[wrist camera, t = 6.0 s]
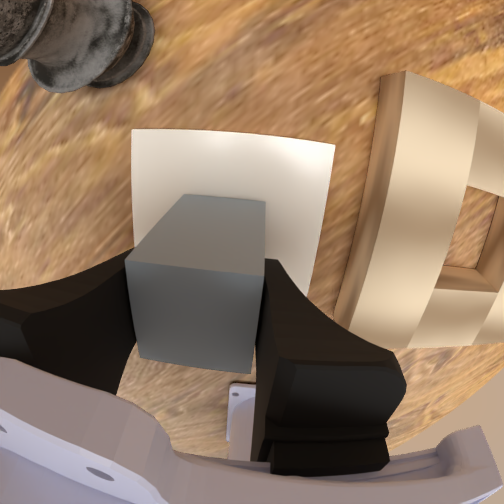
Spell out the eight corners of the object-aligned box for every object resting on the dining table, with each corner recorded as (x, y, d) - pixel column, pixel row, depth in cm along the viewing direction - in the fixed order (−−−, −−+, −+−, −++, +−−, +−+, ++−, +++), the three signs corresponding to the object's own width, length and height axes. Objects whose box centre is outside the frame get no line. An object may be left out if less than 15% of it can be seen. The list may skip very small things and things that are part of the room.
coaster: (301, 312, 18) (302, 316, 18) (142, 294, 18) (139, 297, 18) (333, 144, 14) (335, 145, 13) (134, 128, 14) (131, 129, 13)
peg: (257, 274, 16) (250, 374, 10) (183, 265, 16) (140, 357, 10) (265, 201, 14) (264, 276, 8) (184, 194, 14) (124, 259, 8)
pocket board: (488, 319, 18) (505, 342, 15) (332, 314, 18) (341, 347, 15) (544, 148, 12) (572, 159, 9) (380, 76, 12) (405, 70, 9)
